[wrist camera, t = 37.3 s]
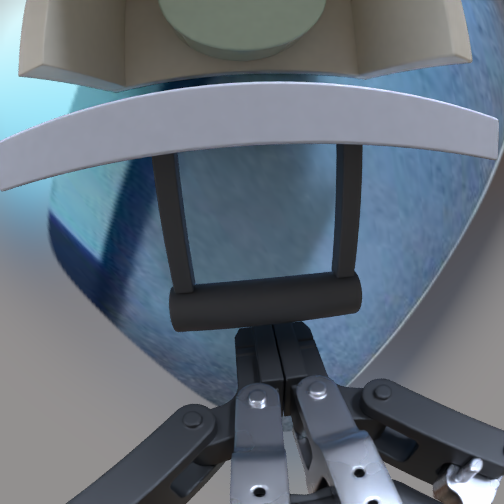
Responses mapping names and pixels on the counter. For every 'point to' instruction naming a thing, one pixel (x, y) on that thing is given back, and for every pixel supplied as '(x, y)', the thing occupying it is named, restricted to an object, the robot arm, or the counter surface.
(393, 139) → the drawer
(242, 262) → the counter surface
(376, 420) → the robot arm
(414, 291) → the counter surface
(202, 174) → the counter surface
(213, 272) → the counter surface
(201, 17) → the pale green disc
